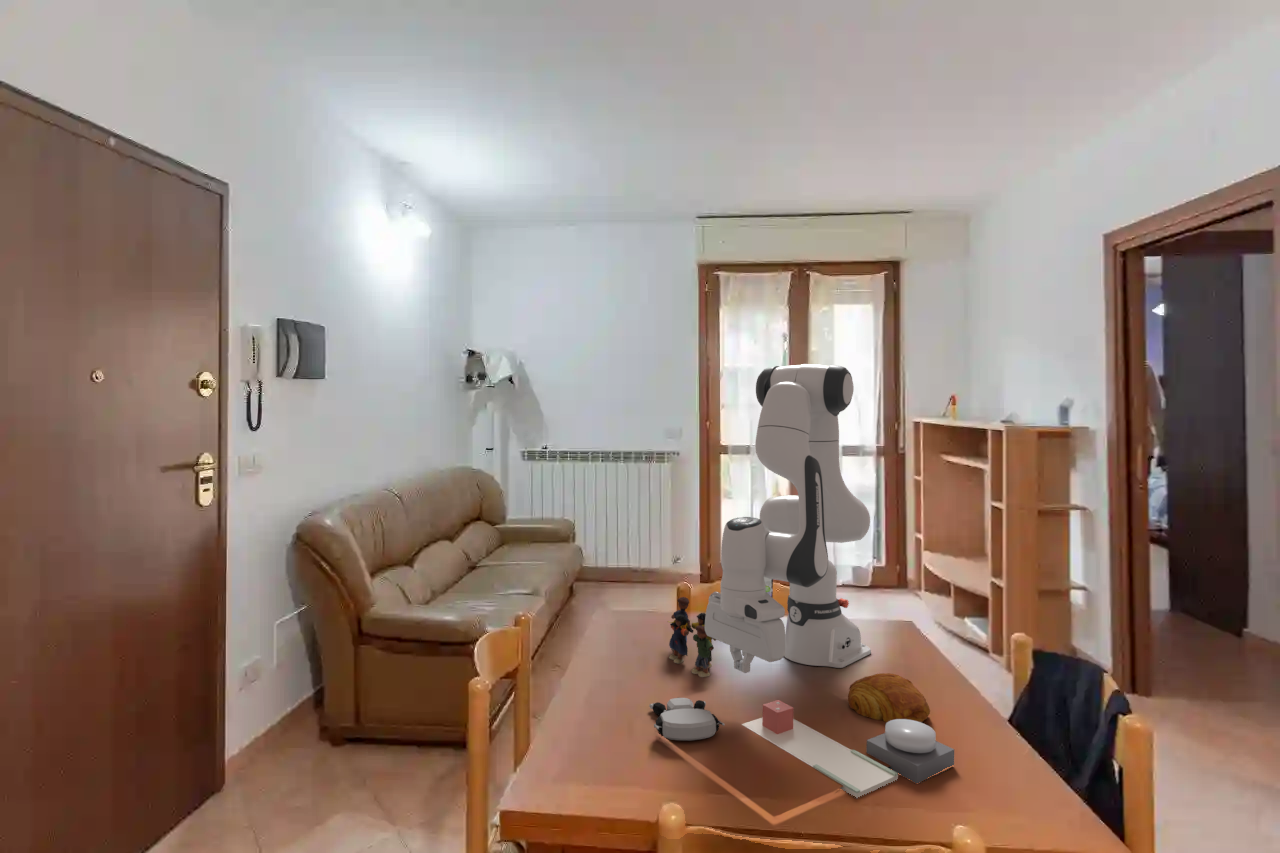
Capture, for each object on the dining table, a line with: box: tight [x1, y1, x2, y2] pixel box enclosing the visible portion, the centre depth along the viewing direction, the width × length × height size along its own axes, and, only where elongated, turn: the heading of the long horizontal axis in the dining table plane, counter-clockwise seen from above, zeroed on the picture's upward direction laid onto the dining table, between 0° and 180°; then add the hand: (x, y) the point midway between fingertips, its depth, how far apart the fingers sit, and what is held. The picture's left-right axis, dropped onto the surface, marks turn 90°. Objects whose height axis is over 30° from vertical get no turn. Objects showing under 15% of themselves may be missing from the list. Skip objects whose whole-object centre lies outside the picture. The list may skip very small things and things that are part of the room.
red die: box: [761, 699, 795, 734], centre depth 128 cm, size 4×4×4 cm
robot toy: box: [648, 697, 725, 741], centre depth 128 cm, size 12×4×15 cm
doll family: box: [667, 596, 717, 678], centre depth 163 cm, size 23×9×13 cm, turn 35°
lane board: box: [740, 717, 899, 799], centre depth 119 cm, size 13×27×1 cm, turn 33°
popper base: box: [866, 732, 955, 784], centre depth 117 cm, size 10×10×3 cm
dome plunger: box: [884, 719, 937, 753], centre depth 117 cm, size 8×8×4 cm
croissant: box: [847, 672, 931, 723], centre depth 136 cm, size 14×16×8 cm
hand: (742, 670), depth 135 cm, fingers closed
